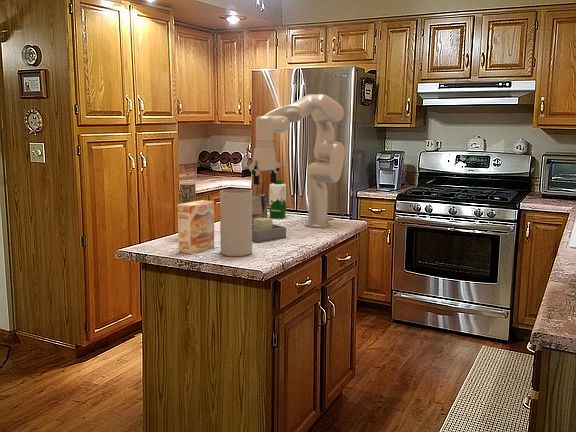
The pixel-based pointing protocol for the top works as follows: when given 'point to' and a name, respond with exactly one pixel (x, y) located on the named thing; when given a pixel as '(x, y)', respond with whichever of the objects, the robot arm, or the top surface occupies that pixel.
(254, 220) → the pale yellow block
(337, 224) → the top surface
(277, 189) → the milk carton
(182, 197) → the bark textured wooden post
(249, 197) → the cylinder vase
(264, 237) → the tub
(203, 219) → the coffeecake box
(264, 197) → the coffee box
